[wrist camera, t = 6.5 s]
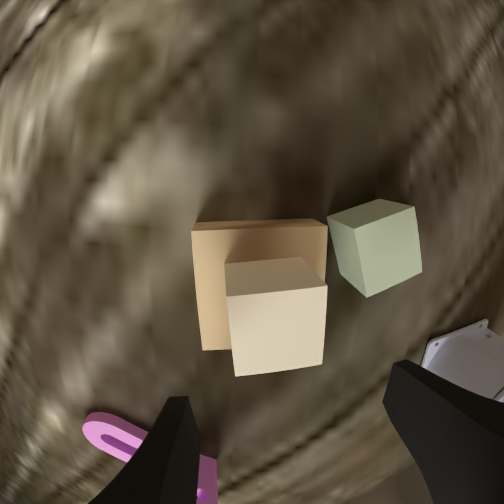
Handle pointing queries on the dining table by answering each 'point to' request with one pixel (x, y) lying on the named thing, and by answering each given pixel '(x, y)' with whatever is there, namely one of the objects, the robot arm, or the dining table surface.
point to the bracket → (130, 438)
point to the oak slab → (243, 250)
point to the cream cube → (275, 315)
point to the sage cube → (376, 244)
